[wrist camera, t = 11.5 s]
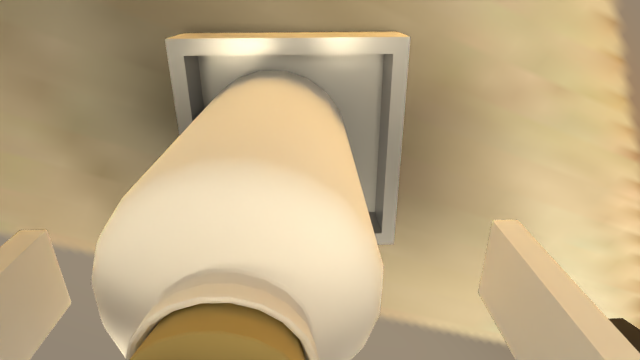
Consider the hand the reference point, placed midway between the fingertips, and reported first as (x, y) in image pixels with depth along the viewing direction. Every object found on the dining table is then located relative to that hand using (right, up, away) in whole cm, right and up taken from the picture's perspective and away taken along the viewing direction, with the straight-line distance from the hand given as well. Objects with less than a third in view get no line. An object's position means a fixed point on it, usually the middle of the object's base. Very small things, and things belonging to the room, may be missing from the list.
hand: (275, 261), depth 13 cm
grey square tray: (0, +5, +13) cm, 14 cm away
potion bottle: (-1, +5, +13) cm, 14 cm away
